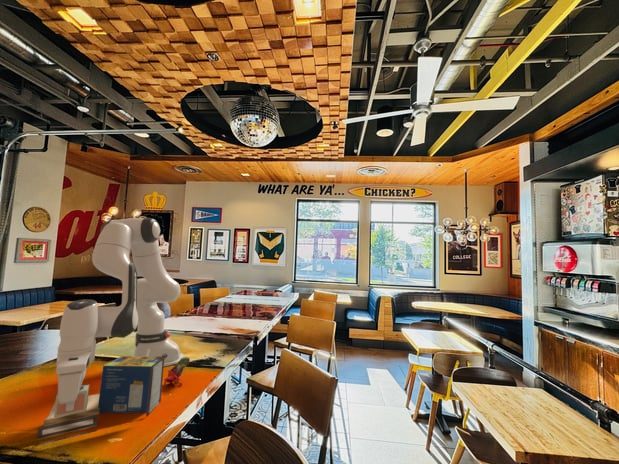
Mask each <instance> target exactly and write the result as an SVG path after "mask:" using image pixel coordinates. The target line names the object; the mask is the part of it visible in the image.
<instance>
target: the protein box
mask: <svg viewBox="0 0 619 464" xmlns="http://www.w3.org/2000/svg"><path fill="white" fill-rule="evenodd" d="M164 367H165V366H164V357H141V356H134V355H133V356H127V355H125V356H123V355H121V356H119V357H117V358H115V359H114V360H111V361H109V362H107V363H105V364H103V365H102V371H101V381H100V389H99V394H100V395H99V403H98V408H100V411H99V414H142V413H143V414H144V413H145V416H146V417H147V416H148V415H150V413H152V411H154V410H155V408H156V407H157V406H158V405H159V404H160V403H161V402H162V391H163V389H162V388H163V380H164V379H163V377H164V376H163V375H164Z"/></svg>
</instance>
